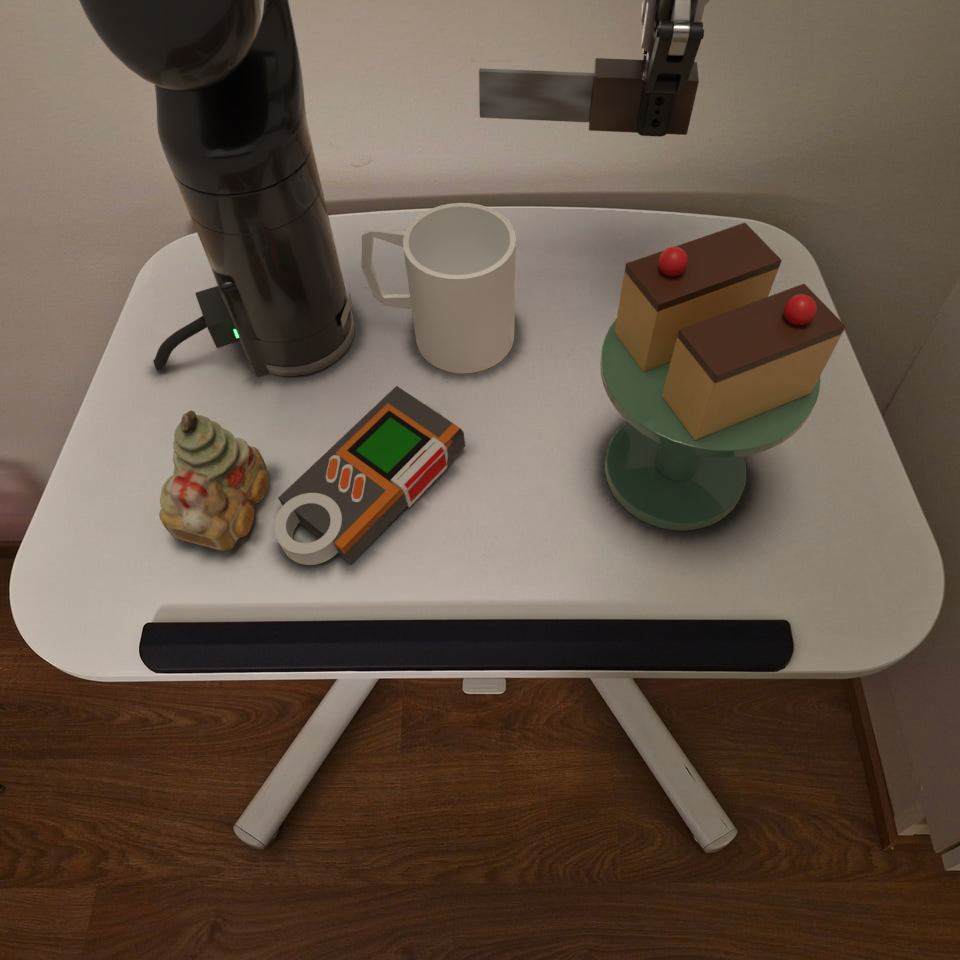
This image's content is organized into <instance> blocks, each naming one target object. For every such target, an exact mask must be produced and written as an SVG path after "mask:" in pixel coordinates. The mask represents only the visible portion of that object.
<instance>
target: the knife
mask: <svg viewBox="0 0 960 960" xmlns="http://www.w3.org/2000/svg"><path fill="white" fill-rule="evenodd" d="M645 65H646V60H643V59H633V58H632V59H630V58H629V59H628V58H607V57H603V58H602V57H595V59H594V67H593V72H584V71H583V72H581V71H580V72H579V71H557V70H556V71H554V70H530V69H529V70H528V69H505V68H504V69H503V68H501V69H500V68H482V67H480V68H479V69H478V94H479V95H478V97H479V99H478V101H479V102H478V103H479V105H478V106H479V118H481V119H498V120H499V119H503V120H505V119H506V120H522V121H523V120H524V121H548V122H549V121H550V122H569V123H570V122H571V123H588V131H591V132H612V133H633V134H634V133H636V134H638V132H637V121H638V115H639V109H640V103H641V97H642V91H643V80H642V73H643V72H644V71H645ZM698 66H699V65H698V62H697V61H694V64H693V67H692V70H691V73H690V76H689V79H688V82H687V87H686V88H685V90H684V93H683V94H676V97H675V102H674V106H673V111H672V116H671V121H670V126H669V131H668V133H667V134H666V135H677V136H678V135H680V136H687V135H688V131H689V128H690V123H691V118H692V114H693V109H694V105H695V101H696V97H697V91H698V88H699V83H700V78H699V67H698Z"/></svg>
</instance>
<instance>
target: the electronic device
mask: <svg viewBox="0 0 960 960" xmlns="http://www.w3.org/2000/svg"><path fill="white" fill-rule="evenodd" d="M465 447H466V440H465V433H464V430H463V429H462V428H461V427H460V426H458V425H456V424H455V423H454V422H453V421H450V420H449V419H448V418H446V417H445V416H443V415H442V413H441V412H440V411H439V410H438V409H437V408H436V407H433V405H431V404H430V403H423V402H422V401H421V400H419V399H417V398H416V397H414V396H413V395H412V394H410V393H408V392H407V391H406V390H404V389H402V388H401V387H399V386H398V385H396V386H395V387H393V388H392V389H391V390H390V391H389V392H388V393H387V394H386V395H385V396H384V397H383V398H382V399H381V400H380V401H379V402H378V403H377V404H376V405H374V406H373V408H371V409H370V410H369V411H368V412H367V413H366V414H365V415H364V416H363V417H361V419H360V420H359V421H357V422H356V423H355V424H354V425H353V426H352V427H351V428H350V429H349V430H348V431H347V432H346V433H344V434H343V435H342V437H341V438H340V439H338V440H337V441H336V442H335V444H333V445H332V446H331V447H330V448H329V449H328V450H327V451H325V453H323V455H322V456H321V457H320V458H318V460H316V461H315V462H313V464H312V465H311V466H310V467H309V468H308V469H307V470H306V471H304V472H303V474H301V475H300V476H299V477H298V478H297V479H296V480H295V481H294V482H293V483H292V484H291V485H289V487H288V488H287V489H285V491H283V492H282V493H281V494H280V495H279V496H278V497H277V498H278V500H279V503H280V504H281V507H280V508H279V510H278V512H277V514H276V515H275V518H274V522H273V533H274V536H275V539H276V541H277V543H278V544H279V546H280V547H281V549H282V550H283V552H284V554H285V556H287V557H288V558H289V559H290V560H292V561H293V562H295V563H297V564H301V565H305V566H315V565H320V564H322V563H325V562H328V561H329V560H331V559H333V558H334V557H335V556H337V554H338V555H339V556H340V557H341V558H343V559H344V560H345V561H346V562H347V563H349V564H350V565H352V564H353V563H355V561H356V560H357V559H358V558H359V557H360V556H361V555H362V554H363V553H364V552H365V551H366V550H367V549H368V548H369V547H370V546H371V544H373V543H374V541H376V540H377V539H378V537H379V536H380V535H381V534H382V533H383V532H384V531H385V530H386V529H387V528H388V527H389V526H390V525H391V524H392V523H393V522H394V521H395V520H396V519H397V518H398V517H399V516H400V515H401V513H403V512H404V511H405V509H406V508H407V507H408V509H410V508H411V506H413V504H414V503H416V501H418V499H419V498H420V497H421V496H422V495H423V494H424V493H426V491H427V490H428V489H429V487H431V486H432V485H433V483H434V482H435V481H436V480H437V479H438V478H439V477H440V476H442V474H443V473H444V472H445V471H446V470H447V469H448V465H449V464H450V463H451V462H452V461H453V460H454V458H456V457H457V455H459V454H460V452H461V451H463V449H465ZM299 524H300V525H301V526H303V527H304V528H305V529H306V530H308V531H309V532H310V533H311V534H313V535H314V536H315V537H316V538H318V539H317V540H314V541H311V542H299V541H296V540H294V532H295V530H296V528H297V526H298V525H299Z"/></svg>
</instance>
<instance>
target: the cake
mask: <svg viewBox="0 0 960 960" xmlns="http://www.w3.org/2000/svg"><path fill="white" fill-rule="evenodd" d="M782 261H783V260H782V259H781V257H779V255H778V254H777V253H775V251H774V250H773V249H772V248H771V247H770V246H769V245H768V244H767V243H766V242H765V241H764V240H763V239H762V238H761V237H760V236H759V235H758V234H757V233H756V232H755V231H754V229H752V228H751V226H750V225H748V224H747V223H746V222H742V223H739V224H735V225H734V226H731V227H728V228H724V229H722V230H719V231H715V232H713V233H710V234H708V235H705V236H702V237H697V238H695V239H692V240H689V241H687V242H683V243H681V244H679V245H675V246H670V247H666V248H665V249H664V250H661V251H658V252H655V253H652V254H649V255H647V256H644V257H640V258H637V259H635V260H632V261H628V262H626V263H625V266H624V267H625V268H624V273H623V277H622V283H621V289H620V295H619V302H618V307H617V314H616V318H617V319H616V318H615V319H616V325H615V331H614V333H615V334H616V336H617V337H618V338H619V340H620V341H621V342H622V344H623V345H624V346H625V348H626V349H627V350H628V352H629V353H630V354H631V356H632V357H633V358H634V360H635V361H636V363H637V364H638V365H639V367H640V368H641V369H642V371H643V372H645V371H648V370H650V369H653V368H656V367H658V366H661V365H664V364H666V363H669V362H671V363H670V366H669V370H668V374H667V378H666V381H665V385H664V389H663V393H662V397H663V399H664V400H665V401H666V403H667V404H668V405H669V407H670V408H671V409H672V411H673V412H674V413H675V415H676V416H677V417H678V419H679V420H680V421H681V423H682V424H683V425H684V427H685V428H686V429H687V431H688V432H689V434H690V435H691V436H692V438H693V439H694V440H697V439H700V438H702V437H704V436H707V435H709V434H712V433H714V432H717V431H719V430H722V429H724V428H727V427H729V426H732V425H734V424H737V423H739V422H742V421H744V420H746V419H749V418H751V417H754V416H756V415H759V414H761V413H764V412H766V411H769V410H771V409H774V408H776V407H779V406H781V405H784V404H786V403H789V402H791V401H793V400H796V399H798V398H801V397H803V396H806V395H808V394H811V393H812V391H813V389H814V387H815V385H816V383H817V381H818V379H819V377H820V378H821V376H822V373H823V371H824V370H825V368H826V366H827V363H828V362H829V360H830V359H831V356H832V355H833V353H834V350H835V348H836V346H837V344H838V342H839V341H840V339H841V337H842V334H843V333H844V331H845V329H846V325H845V323H843V322H842V321H841V319H839V317H838V316H837V315H836V314H835V313H834V312H833V311H832V310H831V309H830V307H828V306H827V305H826V304H825V303H824V302H823V301H822V300H821V299H820V298H819V297H818V296H817V295H816V294H815V293H814V292H813V290H811V289H810V288H809V287H808V285H806V284H805V283H801V284H799V285H796V286H793V287H791V288H788V289H786V290H785V289H784V290H782V291H779V292H777V293H774V294H771V295H770V293H771V290H772V287H773V285H774V282H775V280H776V277H777V274H778V272H779V270H780V269H779V268H780V267H781V264H782Z"/></svg>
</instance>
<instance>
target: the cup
mask: <svg viewBox="0 0 960 960" xmlns="http://www.w3.org/2000/svg"><path fill="white" fill-rule="evenodd" d="M374 238H375V239H379V240H382V241H384V242H387V243H390V244H393V245H395V246H399V247H401V248H403V255H404V262H405V264H404V265H405V270H406V277H407V284H408V292H409V293H404V294H403V293H401V294H399V293H398V294H397V293H396V294H395V293H394V294H385V292H384V289H383V287H382V285H381V282H380V279H379V277H378V274H377V273H376V270H375V268H374V264H373V259H374V258H373V257H374V240H375V239H374ZM516 238H517V237H516V232H515V228H514V227H513V225H512V223H511V222H510V221H509V220H508V219H507V217H505V216H504V215H503V214H502V213H500V212H499V211H497V210H495V209H493V208H492V207H488V206H485V205H482V204H479V203H472V202H453V203H447V204H441V205H438V206H435V207H432V208H429V209H428V210H426V211H424V212H422V213H421V214H419V215H418V216H417V217H415V218H414V219H413V220H412V221H411V222H410V223H409V224H408V226H407V228H406V229H405V231H403V230H395V229H385V228H376V227H371V228H369V229H367V230H364V231H362V233H361V259H360V260H361V261H360V265H361V266H360V267H361V269H362V272H363V274H364V277H365V279H366V282H367V284H368V287H369V289H370V291H371V294H372V297H373V298H374V299H376V300H377V301H378V302H379V303H380V304H382V305H383V306H384V307H390V308H398V309H405V310H411V314H412V321H413V330H414V334H415V336H414V337H415V343H416V346H417V349H418V352H419V354H420V355H421V356H422V358H424V359H425V360H426V362H427V363H428V364H430V365H432V366H433V367H435V368H437V369H439V370H442V371H445V372H449V373H453V374H473V373H478V372H483V371H486V370H488V369H490V368H492V367H494V366H496V365H497V364H499V363H501V362H502V361H503V360H504V359H505V358H506V357H507V356H508V354H509V353H510V351H511V350H512V349H513V345H514V343H515V327H516V326H515V321H516V319H515V318H516V317H515V316H516V314H515V313H516V256H517V255H516V249H517V240H516Z"/></svg>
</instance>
